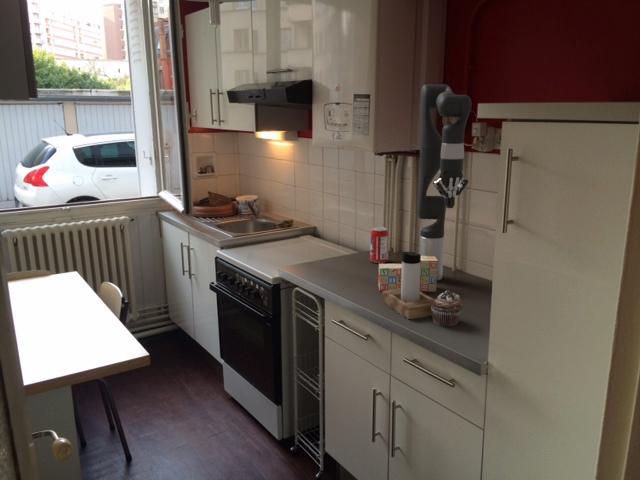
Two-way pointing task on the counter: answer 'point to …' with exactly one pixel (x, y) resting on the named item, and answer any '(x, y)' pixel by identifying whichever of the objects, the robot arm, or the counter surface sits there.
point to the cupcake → (446, 309)
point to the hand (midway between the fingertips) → (449, 207)
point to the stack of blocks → (392, 274)
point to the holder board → (408, 304)
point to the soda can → (379, 245)
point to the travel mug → (410, 277)
